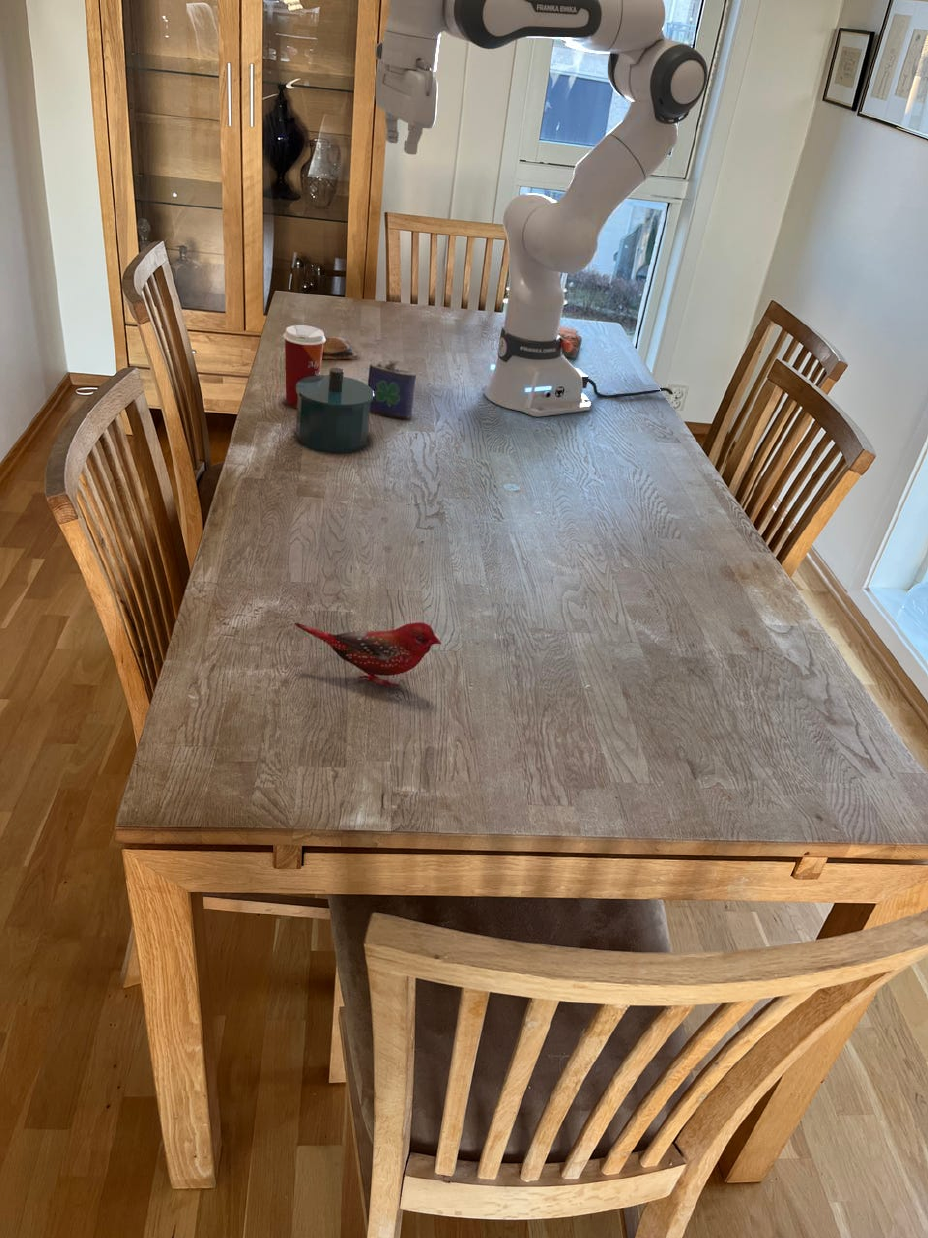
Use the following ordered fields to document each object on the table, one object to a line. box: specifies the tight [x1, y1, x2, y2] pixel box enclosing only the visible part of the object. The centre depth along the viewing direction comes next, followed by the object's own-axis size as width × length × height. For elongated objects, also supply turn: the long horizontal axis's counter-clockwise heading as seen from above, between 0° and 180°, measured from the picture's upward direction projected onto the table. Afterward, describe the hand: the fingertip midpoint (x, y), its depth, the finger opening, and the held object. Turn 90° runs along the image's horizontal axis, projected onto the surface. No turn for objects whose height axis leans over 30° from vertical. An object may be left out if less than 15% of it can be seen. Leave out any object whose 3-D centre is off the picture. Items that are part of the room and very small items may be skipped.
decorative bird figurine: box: [293, 621, 442, 687], centre depth 116 cm, size 3×18×10 cm, turn 80°
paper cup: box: [283, 324, 326, 409], centre depth 183 cm, size 8×8×14 cm
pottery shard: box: [558, 325, 583, 359], centre depth 237 cm, size 16×16×4 cm
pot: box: [295, 395, 371, 454], centre depth 173 cm, size 13×13×8 cm
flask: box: [367, 359, 417, 421], centre depth 186 cm, size 9×3×11 cm, turn 74°
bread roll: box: [322, 335, 358, 360], centre depth 211 cm, size 11×8×4 cm
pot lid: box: [296, 367, 374, 408], centre depth 170 cm, size 14×14×5 cm
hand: (400, 147), depth 167 cm, fingers open, 8 cm apart
